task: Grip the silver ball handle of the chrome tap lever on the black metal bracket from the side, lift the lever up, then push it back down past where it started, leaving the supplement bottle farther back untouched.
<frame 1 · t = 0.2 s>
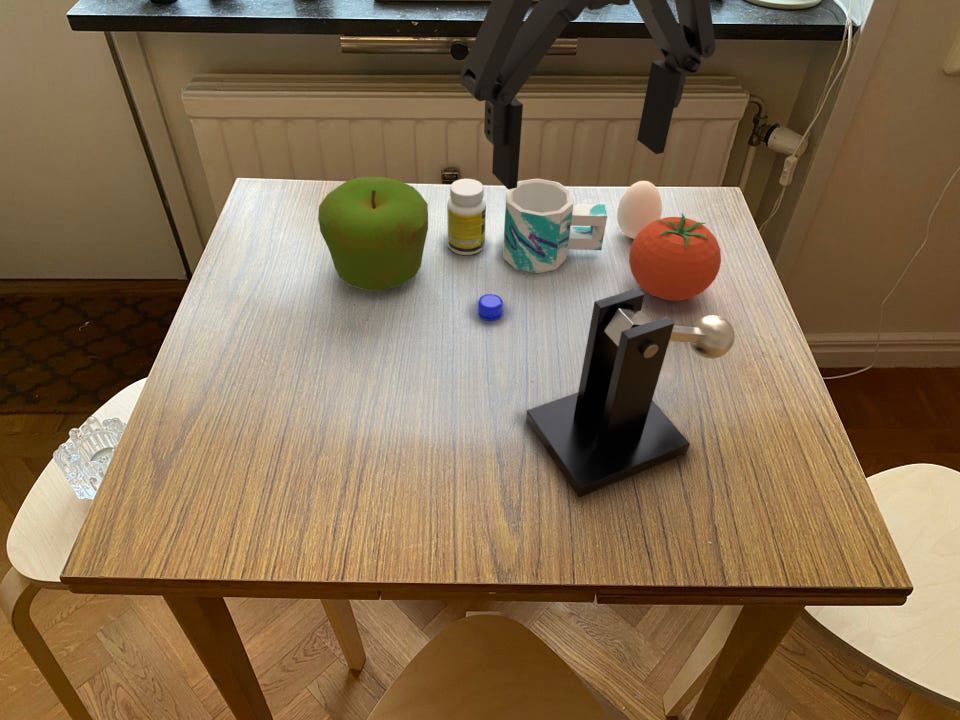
hand: (580, 163, 56), 25 cm above the table, tool pointing down, fingers open, 13 cm apart
tomato: (665, 291, 85), on the table
supplement bottle: (466, 246, 90), on the table
apple: (379, 274, 86), on the table
bottle cap: (490, 313, 81), on the table
mug: (550, 255, 89), on the table
lever: (675, 333, 62), point 12 cm above the table, hinge at -25.0°
tap bracket: (604, 436, 68), on the table
egg: (633, 237, 93), on the table
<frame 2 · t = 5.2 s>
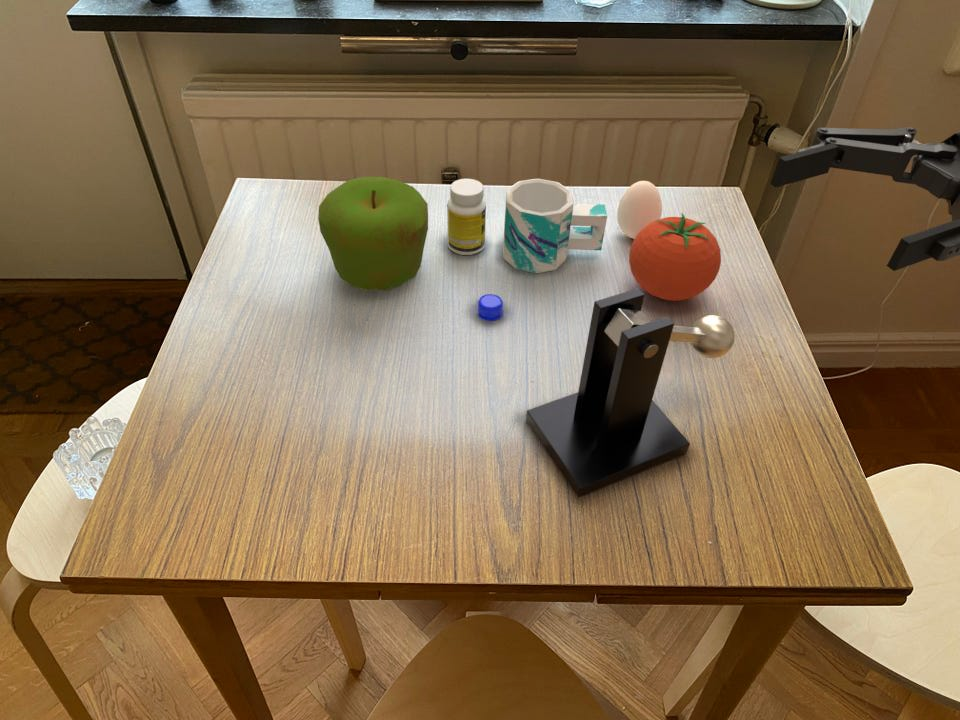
hand: (832, 211, 60), 20 cm above the table, tool horizontal, fingers open, 13 cm apart
nothing on the table moved.
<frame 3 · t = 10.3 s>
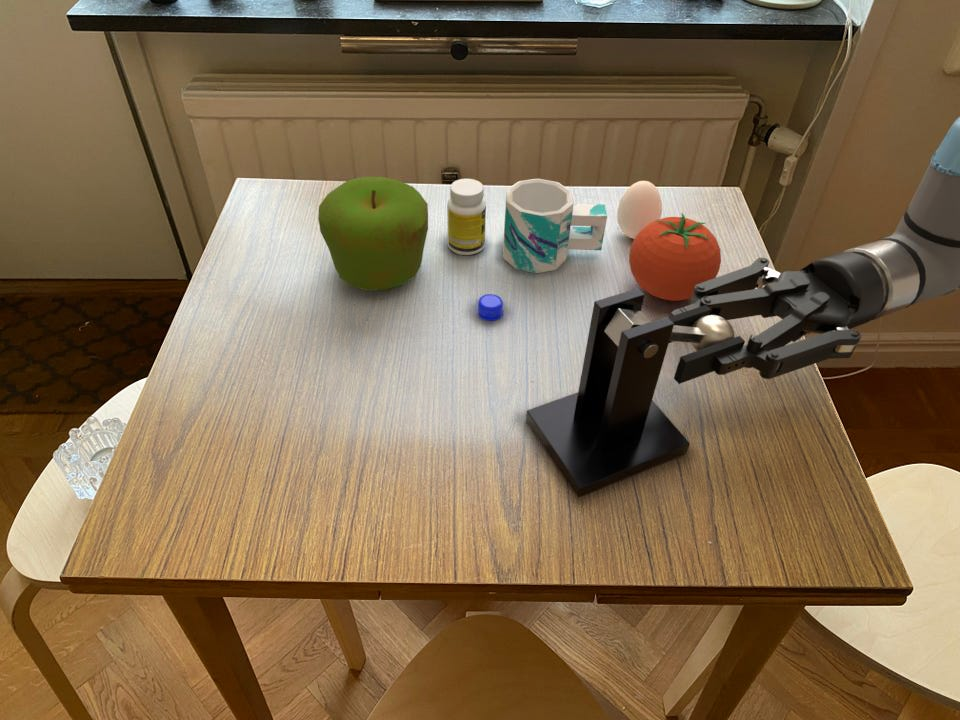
hand: (664, 353, 63), 9 cm above the table, tool horizontal, fingers closed on lever, 4 cm apart
lever: (675, 333, 62), point 12 cm above the table, hinge at -25.0°, touching gripper
everything else where it was.
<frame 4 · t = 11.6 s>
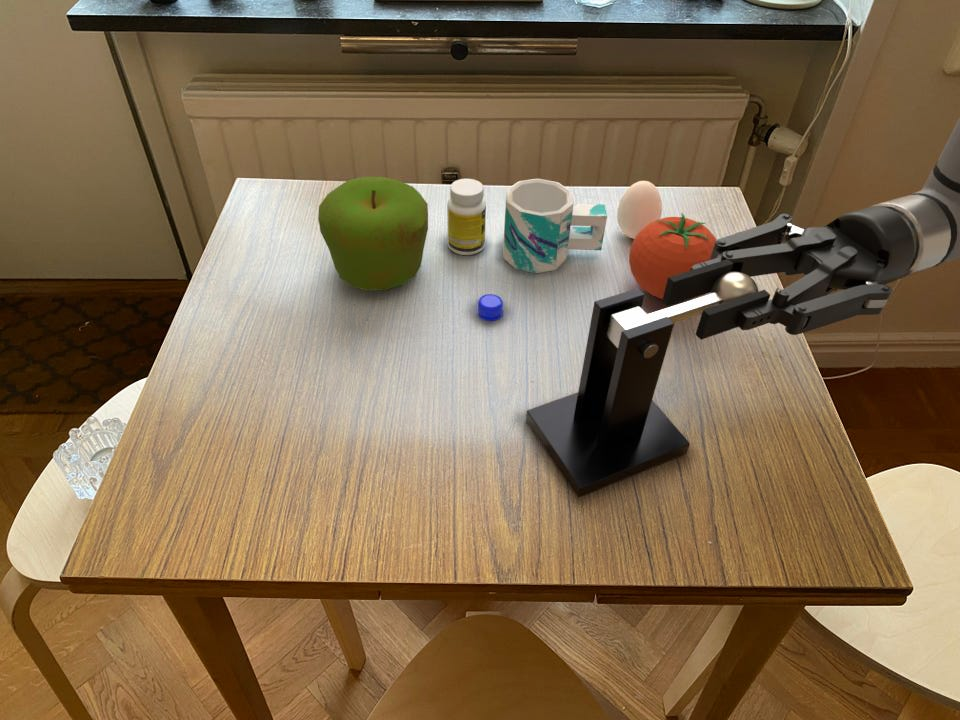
hand: (684, 307, 60), 14 cm above the table, tool horizontal, fingers closed on lever, 4 cm apart
lever: (686, 310, 60), point 14 cm above the table, hinge at -0.1°, touching gripper
everything else where it was.
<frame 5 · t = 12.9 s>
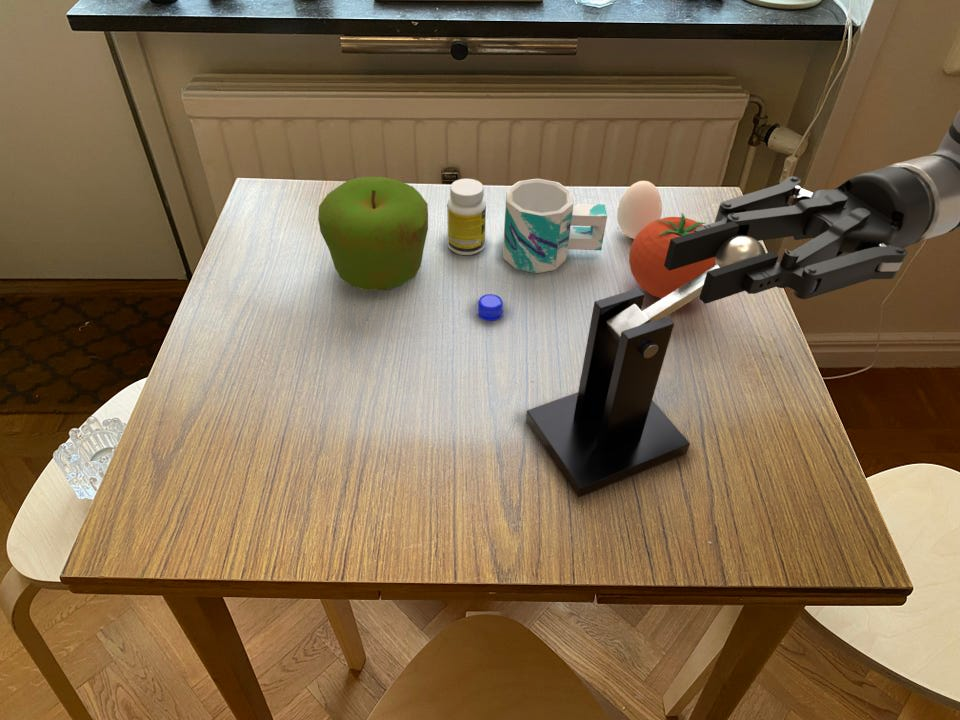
hand: (688, 270, 57), 19 cm above the table, tool horizontal, fingers closed on lever, 4 cm apart
lever: (688, 292, 59), point 16 cm above the table, hinge at 21.2°, touching gripper
everything else where it was.
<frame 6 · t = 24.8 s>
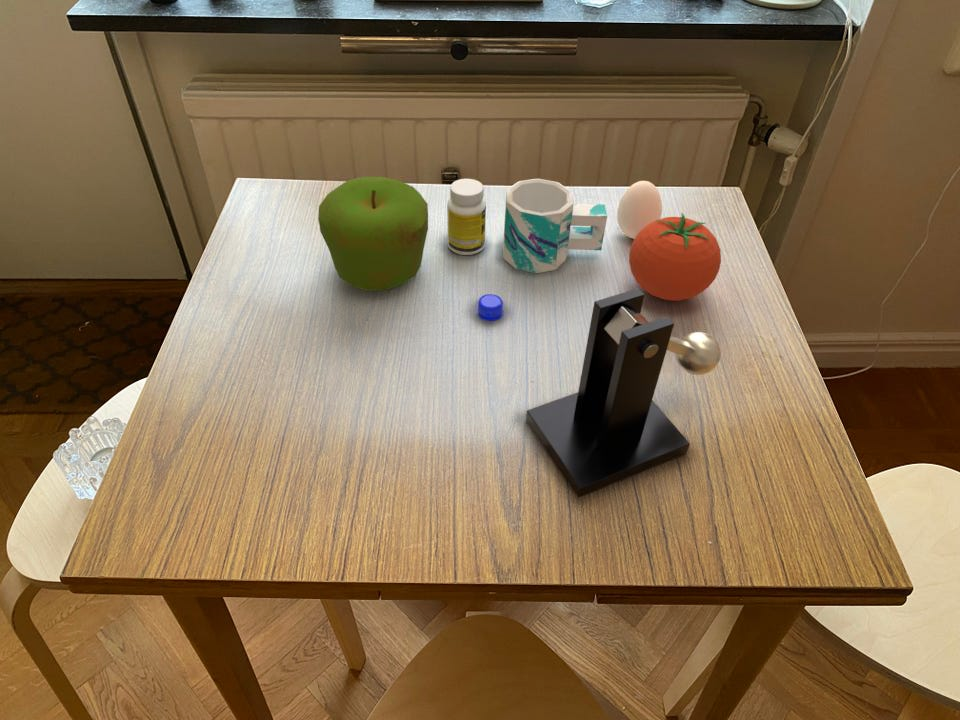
lever: (667, 342, 62), point 11 cm above the table, hinge at -35.4°
everything else where it was.
at the end: lever reached +21° during the clip, -35° at the end; lever at -35° (first picture: -25°); supplement bottle moved 0.2 cm from its start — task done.
